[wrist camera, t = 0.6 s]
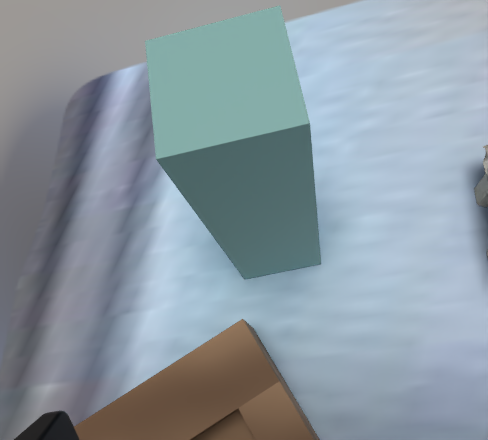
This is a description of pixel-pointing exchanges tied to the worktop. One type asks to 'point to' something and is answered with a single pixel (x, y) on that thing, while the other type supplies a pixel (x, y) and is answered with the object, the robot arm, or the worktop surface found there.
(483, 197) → the miniature castle
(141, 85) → the worktop surface
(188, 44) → the teal post
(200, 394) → the walnut box
